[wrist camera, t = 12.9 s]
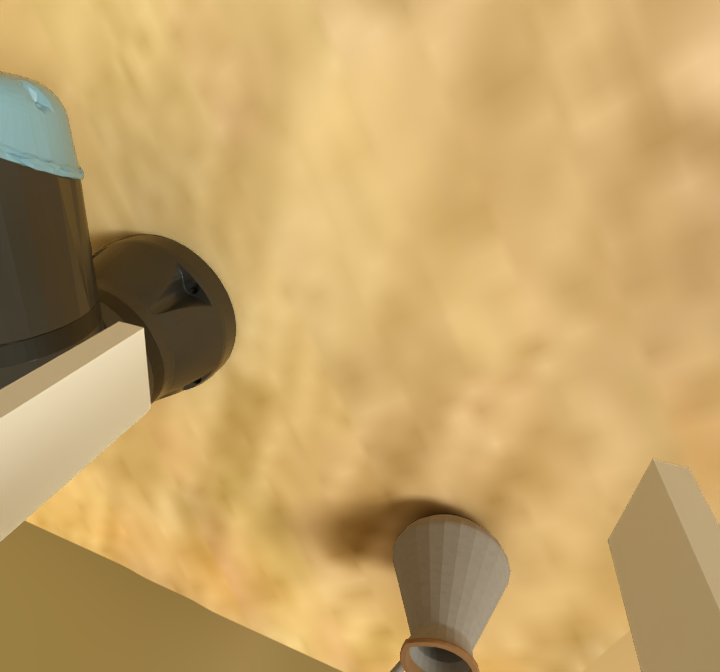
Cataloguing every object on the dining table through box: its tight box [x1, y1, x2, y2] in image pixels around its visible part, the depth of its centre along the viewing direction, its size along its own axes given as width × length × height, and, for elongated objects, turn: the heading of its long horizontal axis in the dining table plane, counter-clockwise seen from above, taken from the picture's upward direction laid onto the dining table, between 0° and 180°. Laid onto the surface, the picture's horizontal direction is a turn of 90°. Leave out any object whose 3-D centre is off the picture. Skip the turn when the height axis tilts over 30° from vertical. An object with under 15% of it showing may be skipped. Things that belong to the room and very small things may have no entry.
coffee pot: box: [390, 514, 510, 672], centre depth 45 cm, size 21×12×15 cm, turn 145°
